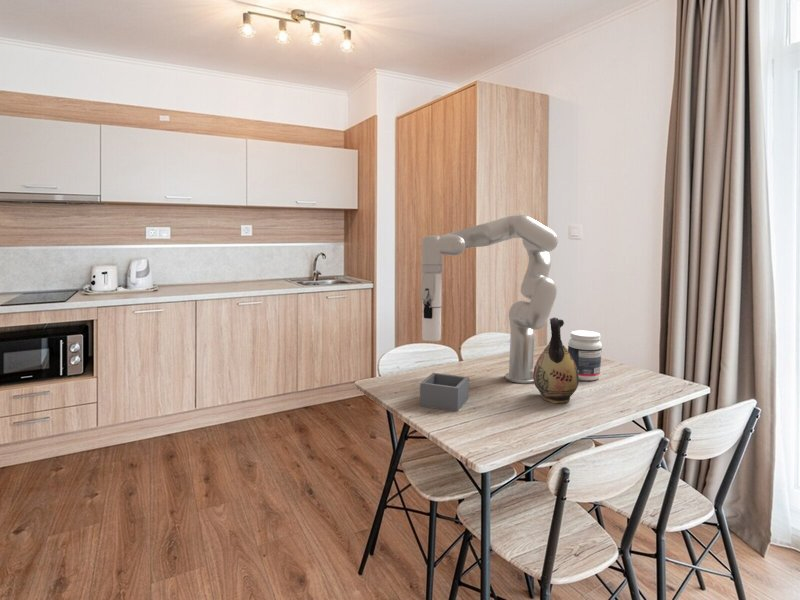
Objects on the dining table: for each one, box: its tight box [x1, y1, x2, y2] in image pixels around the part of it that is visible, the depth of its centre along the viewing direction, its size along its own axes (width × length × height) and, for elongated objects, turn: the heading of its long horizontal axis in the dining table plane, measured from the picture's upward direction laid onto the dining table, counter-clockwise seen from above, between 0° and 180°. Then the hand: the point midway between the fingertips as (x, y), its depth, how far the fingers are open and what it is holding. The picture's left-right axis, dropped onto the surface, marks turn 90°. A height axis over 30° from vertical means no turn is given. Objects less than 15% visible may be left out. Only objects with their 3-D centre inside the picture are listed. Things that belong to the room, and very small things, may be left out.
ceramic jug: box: [533, 317, 580, 404], centre depth 172 cm, size 17×15×30 cm
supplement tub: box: [567, 329, 603, 382], centre depth 199 cm, size 13×13×18 cm
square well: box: [419, 372, 470, 412], centre depth 170 cm, size 13×13×8 cm
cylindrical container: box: [421, 272, 443, 342], centre depth 183 cm, size 7×7×25 cm
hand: (431, 316), depth 183 cm, fingers closed on cylindrical container, 7 cm apart
